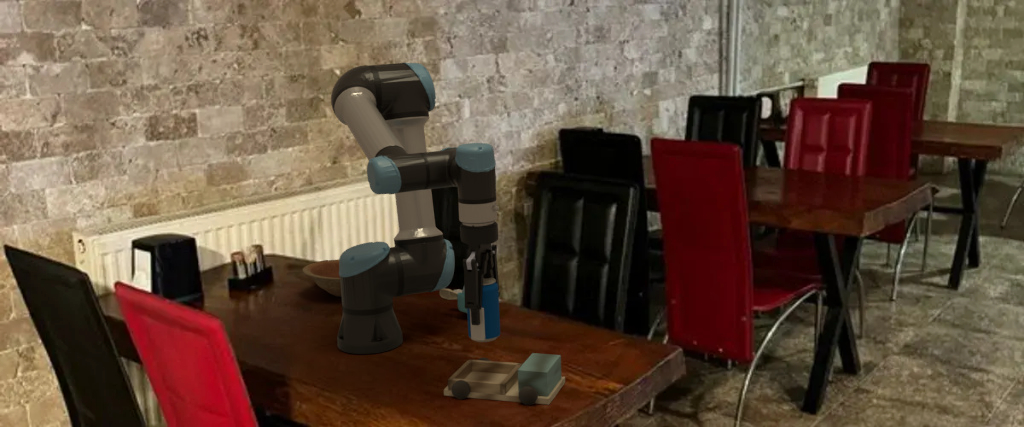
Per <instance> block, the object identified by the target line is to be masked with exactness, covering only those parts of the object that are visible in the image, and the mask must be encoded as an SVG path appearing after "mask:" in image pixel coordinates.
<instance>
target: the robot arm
mask: <svg viewBox="0 0 1024 427" xmlns="http://www.w3.org/2000/svg"><path fill="white" fill-rule="evenodd" d="M436 94H437V93H436V89H435V84H434V80H433V79H432V76H431V73H430V72H429V71H428V69H427V68H426V67H425V65H424V64H421V63H417V62H401V63H400V62H398V63H397V62H396V63H387V64H386V63H385V64H372V65H367V64H365V65H360V66H355V67H352V68H351V69H349V70H347V71H346V72H344V73H343V74H342V75H341V76H340V77H339V78H338V80H336V83H335V84H334V86H333V88H332V92H331V95H330V104H331V108H332V111H333V114H334V115H335V117H336V118H337V119H338V121H339V122H340V123H341V124H343V125H345V126H347V128H348V129H349V130H350V133H351V134H352V136H353V137H354V139H355V140H356V142H357V144H358V145H359V147H360V148H361V150H362V152H363V154H364V156H366V159H367V160H368V163H367V166H366V176H367V182H368V184H369V188H370V190H371V191H372V193H374V194H376V195H394V197H395V205H396V213H397V222H398V229H399V230H398V232H397V234H396V235H395V236H394V238H393V243H394V246H389V243H387V242H385V241H369V242H365V243H360V244H357V245H353V246H350V247H348V248H347V249H345V250H344V251H343V252H342V253H341V254H340V256H339V258H338V260H339V276H340V284H341V296H342V297H341V305H342V306H341V307H342V316H341V321H340V324H339V328H338V333H337V337H336V338H337V339H336V341H337V348H338V350H340V351H341V352H344V353H349V354H354V355H369V354H370V355H372V354H379V353H383V352H388V351H391V350H394V349H395V348H398V347H399V346H401V345H402V344H403V340H404V339H403V338H404V337H403V331H402V329H401V326H400V323H399V321H398V318H397V316H396V314H395V311H394V303H393V299H394V298H398V297H403V296H409V295H410V296H411V295H414V294H415V295H416V294H423V293H432V292H435V291H440V289H447V287H448V286H449V285H450V284H451V282H452V280H453V278H454V272H455V265H456V264H455V262H456V261H455V251H454V249H453V244H452V243H451V241H450V240H448V239H445V238H444V233H443V232H442V231H441V230H440V229H438V228H437V227H436V226H437V225H436V219H435V212H434V203H433V202H434V201H433V194H432V190H435V189H443V188H451V187H455V188H457V194H458V195H457V198H458V201H457V202H458V220H459V222H460V225H459V231H460V232H459V234H460V241H461V243H462V244H464V245H467V246H468V247H469V248H468V253H467V258H463V259H462V268H463V277H464V279H463V280H464V281H463V287H464V292H465V309H470V324H471V338H470V339H471V340H472V341H474V340H485V322H484V308H482V294H483V278H494V279H495V280H496V283H497V285H498V293H499V297H500V295H501V293H500V292H501V291H499V290H500V282H499V271H498V269H499V268H498V257H497V252H498V251H497V250H498V245H497V244H494V243H497V241H498V240H499V224H498V222H497V220H498V211H499V210H500V206H499V205H497V182H496V181H497V179H496V177H497V176H496V166H497V163H496V159H495V158H496V157H495V150H494V147H493V146H492V144H491V143H486V142H484V143H482V142H472V143H471V142H470V143H462V144H459V145H458V146H457V147H456V146H454V147H449V146H448V147H444V148H442V149H441V150H437V151H436V150H435V151H427V143H426V135H425V127H424V126H425V125H426V123H427V122H428V121H429V119H430V114H429V113H430V112H432V111H433V110H434V109H435V107H436V103H437V102H436V99H437V97H436Z"/></svg>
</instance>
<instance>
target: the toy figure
mask: <svg viewBox="0 0 1024 427" xmlns="http://www.w3.org/2000/svg"><path fill="white" fill-rule="evenodd" d="M439 296H440V298H442V299H445V300H449V301H452V300H453V301H455V300H456V301H457V309H458V310H459V312H462V313H466V314H467V309H465V292H464V286H463V288H462V289H460V288H458V289H453V290H452V289H451V288H444V289H440V290H439ZM501 302H502V299H500V298H499V304H500V303H501Z"/></svg>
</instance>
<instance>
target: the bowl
mask: <svg viewBox="0 0 1024 427" xmlns="http://www.w3.org/2000/svg"><path fill="white" fill-rule="evenodd" d="M302 272H303V273H304V275H306V276H308V277H310V278H312V280H313V282H315V284H316V285H317V287H319V288H320V289H322V290H324V291H326V292H327V293H329V294H330V295H333V296H335V297H341V298H342V296H341V284H340V276H339V259H329V260H328V259H324V260H320V261H317V262H312V263H310V264H308V265H305V266H304V267H303V268H302Z"/></svg>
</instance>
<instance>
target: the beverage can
mask: <svg viewBox="0 0 1024 427" xmlns="http://www.w3.org/2000/svg"><path fill="white" fill-rule="evenodd" d="M498 292H499V291H498V285H497V283H496V280H495V279H494V278H483V294H482V308H484V322H485V340H473V341H474V342H477V343H488V342H492V341H495V340H497V339H498V337H500V335H501V320H500V303H499V299H500V296H499V293H498ZM466 314H467V315H466V316H467V331H468V332H467V334H468V337H469V338H470V339H471V324H470V309H467V313H466Z"/></svg>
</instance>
